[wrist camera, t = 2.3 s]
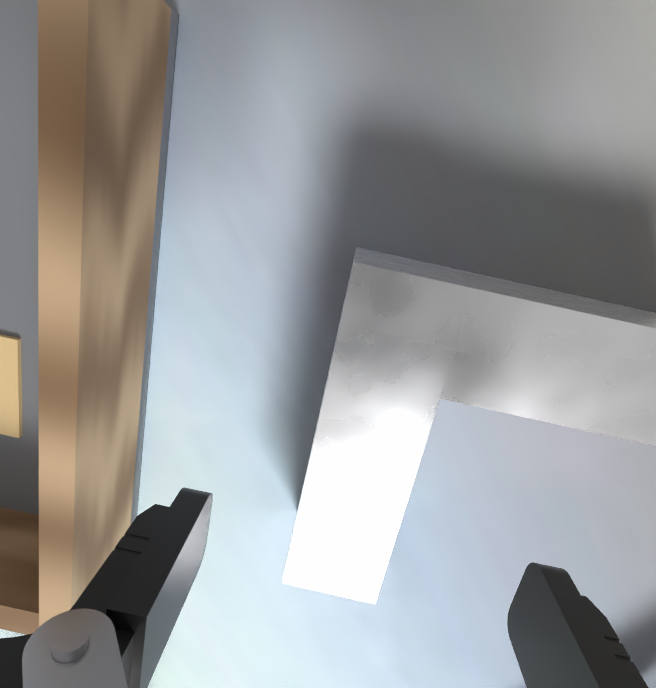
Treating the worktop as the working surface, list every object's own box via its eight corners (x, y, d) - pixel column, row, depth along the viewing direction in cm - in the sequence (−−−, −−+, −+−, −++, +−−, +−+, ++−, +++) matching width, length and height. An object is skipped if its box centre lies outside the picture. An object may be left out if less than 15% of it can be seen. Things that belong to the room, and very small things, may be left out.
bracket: (356, 246, 17) (353, 262, 13) (664, 314, 17) (752, 349, 13) (296, 511, 20) (281, 582, 17) (546, 567, 20) (588, 651, 17)
